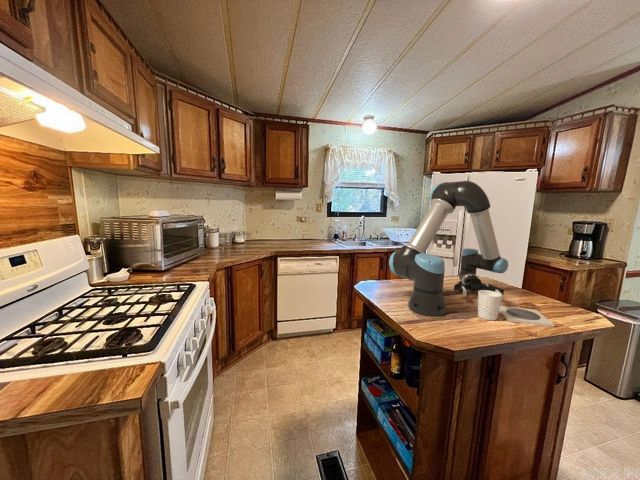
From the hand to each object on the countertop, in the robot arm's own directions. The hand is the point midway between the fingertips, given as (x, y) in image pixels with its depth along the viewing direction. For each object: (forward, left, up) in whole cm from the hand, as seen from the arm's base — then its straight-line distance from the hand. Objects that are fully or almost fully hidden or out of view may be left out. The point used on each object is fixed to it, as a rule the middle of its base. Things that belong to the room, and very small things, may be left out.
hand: (482, 295), depth 114 cm
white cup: (0, -9, -6) cm, 11 cm away
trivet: (+14, -3, -6) cm, 16 cm away
